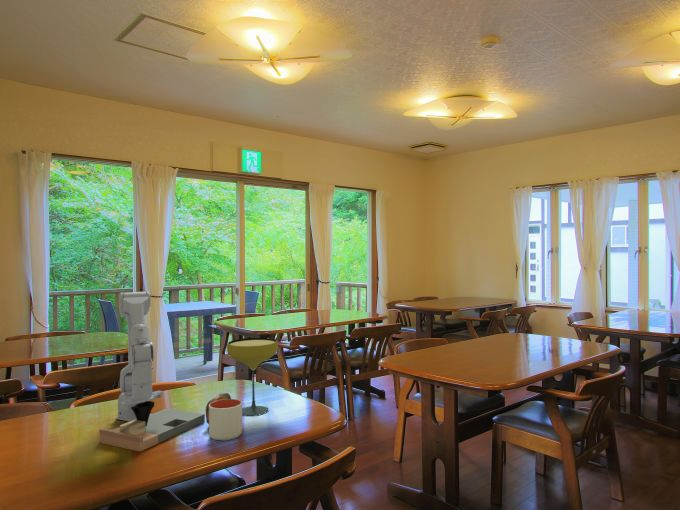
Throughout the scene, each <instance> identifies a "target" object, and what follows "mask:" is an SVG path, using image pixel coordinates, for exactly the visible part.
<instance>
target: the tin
mask: <svg viewBox="0 0 680 510" xmlns="http://www.w3.org/2000/svg"><path fill="white" fill-rule="evenodd" d="M223 399H232V397H231V395H230V393H228V392H225V393H218V395H216V396H214V397H212V399H210V400H209V401H208V402H207V403H206V407H205V422H206V423H207V424H208V425H209V404H210V403H212V402H214V401H217V400H223Z"/></svg>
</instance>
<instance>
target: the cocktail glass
mask: <svg viewBox="0 0 680 510" xmlns="http://www.w3.org/2000/svg"><path fill="white" fill-rule="evenodd" d="M226 351H227V355H229V356H230V358H232V359H233V360H236V361H237V362H240V363H243V364H245V365H246V366H247V367H248V368H249V369H250V371H252V373H251V374H252V375H251V376H252V377H251V379H252V381H251V382H252V383H251V384H252V387H251V388H252V389H251V390H252V396H251V397H252V398H251V399H252V400H251V405H250V406H244V407H242V416H244V415H247V416H246V417H255V416H254V415H257V416H260V415H259V414H262V413H265V412H267V411H268V409H269V407H268V406H264V405H257V404H256V399H255V398H256V397H255V371H256V369H257V368H258V367H259V366H260V364H262V363H264V362H266V361H267V360H268V359H270V358H272V357H274V356H275V354H276V353H277V352H278V351H279V344H278V339H276V338H271V337H248V338H247V337H246V338H240V339H233V340H230V341H228V343H227V345H226ZM268 412H269V411H268ZM268 412H267V413H268ZM265 414H266V413H265ZM262 415H263V414H262Z"/></svg>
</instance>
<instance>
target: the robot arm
mask: <svg viewBox="0 0 680 510" xmlns="http://www.w3.org/2000/svg"><path fill="white" fill-rule="evenodd" d="M150 307H151V293H150V292H149V291H148V290H147V291H134V292H133V291H132V292H131V291H129V292H122V291H121V292H120V293H118V309H119V311H118V312H119V315H120V317H122V318H125V320H126V323H127V346H128V347H127V351H128V352H127V353H128V354H127V355H128V356H127V358H128V364H126V365H125V367H123V368H122V369H121V370H120V375H119V391H120V394H119V396H118V398H117V416H116V417H115V420H120V421H124V422H130V421H133V420H139V421H145V427H146V426H147V423H148V419H149V415H151V414H152V413H151V412H152V410H153V409H154V407H155V402H154V400H156V399H161V398H163V397H164V395H163V394H164V393H163V391H162V390H156V391H153V362H154V357H155V350H154V345H153V342H152V340H151V339H150V338H151V337H150V336H151V335H150V331H149V327H148V326H147V325H145V316H147V315H148V314H149V311H150Z"/></svg>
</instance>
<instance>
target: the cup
mask: <svg viewBox="0 0 680 510" xmlns="http://www.w3.org/2000/svg"><path fill="white" fill-rule="evenodd" d="M242 408H243V402H242V401H241V400H239V399H234V398H231V399H223V400H217V401H214V402H212V403H210V404H209V424H208V433H209V437H210V438H211V439H213V440H216V441H221V442H222V441H230V440H234V439H236V438H238V437H240V436H241V434H242V433H243V415H242Z"/></svg>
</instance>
